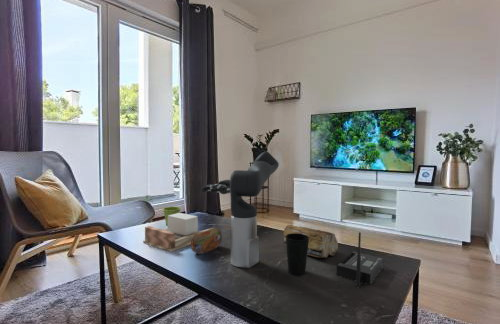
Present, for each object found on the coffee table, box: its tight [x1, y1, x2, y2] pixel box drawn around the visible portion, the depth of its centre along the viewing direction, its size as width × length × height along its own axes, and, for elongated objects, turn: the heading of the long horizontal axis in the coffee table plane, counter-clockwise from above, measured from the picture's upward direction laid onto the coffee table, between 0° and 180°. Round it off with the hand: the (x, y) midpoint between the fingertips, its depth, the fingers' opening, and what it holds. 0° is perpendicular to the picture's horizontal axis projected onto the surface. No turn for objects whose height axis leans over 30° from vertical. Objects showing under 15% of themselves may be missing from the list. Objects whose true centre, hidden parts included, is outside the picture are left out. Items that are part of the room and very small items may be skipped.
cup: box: [285, 233, 309, 277], centre depth 93 cm, size 8×8×12 cm
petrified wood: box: [282, 224, 339, 258], centre depth 113 cm, size 19×13×10 cm
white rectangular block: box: [167, 212, 199, 236], centre depth 127 cm, size 12×7×7 cm, turn 56°
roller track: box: [142, 225, 204, 253], centre depth 124 cm, size 18×21×7 cm
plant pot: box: [162, 206, 181, 226], centre depth 149 cm, size 9×9×9 cm
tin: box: [190, 227, 223, 255], centre depth 112 cm, size 15×3×8 cm, turn 143°
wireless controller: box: [336, 231, 384, 288], centre depth 93 cm, size 20×14×17 cm
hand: (206, 190), depth 139 cm, fingers open, 5 cm apart
